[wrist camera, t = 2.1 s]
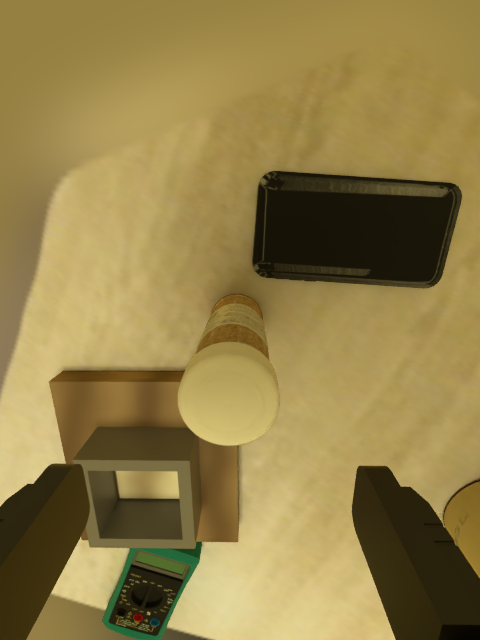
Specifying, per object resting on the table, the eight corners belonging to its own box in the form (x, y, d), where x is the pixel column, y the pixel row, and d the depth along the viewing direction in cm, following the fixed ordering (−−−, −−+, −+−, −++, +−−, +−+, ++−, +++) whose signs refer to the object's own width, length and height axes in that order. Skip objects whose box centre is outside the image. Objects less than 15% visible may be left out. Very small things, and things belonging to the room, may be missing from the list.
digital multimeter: (108, 602, 37) (97, 633, 34) (141, 516, 33) (131, 543, 30) (165, 618, 38) (158, 649, 35) (204, 536, 34) (200, 564, 31)
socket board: (237, 371, 27) (236, 383, 25) (238, 523, 32) (238, 544, 30) (62, 371, 27) (47, 382, 25) (91, 521, 33) (80, 541, 30)
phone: (259, 169, 22) (466, 183, 22) (259, 172, 23) (455, 186, 23) (251, 277, 24) (438, 290, 24) (251, 275, 25) (430, 288, 25)
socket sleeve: (197, 427, 27) (189, 460, 23) (201, 507, 29) (195, 548, 25) (97, 427, 27) (72, 459, 23) (110, 505, 29) (89, 547, 26)
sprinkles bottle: (238, 353, 27) (231, 467, 14) (199, 319, 26) (153, 408, 13) (274, 317, 26) (303, 403, 13) (235, 281, 25) (223, 335, 12)
